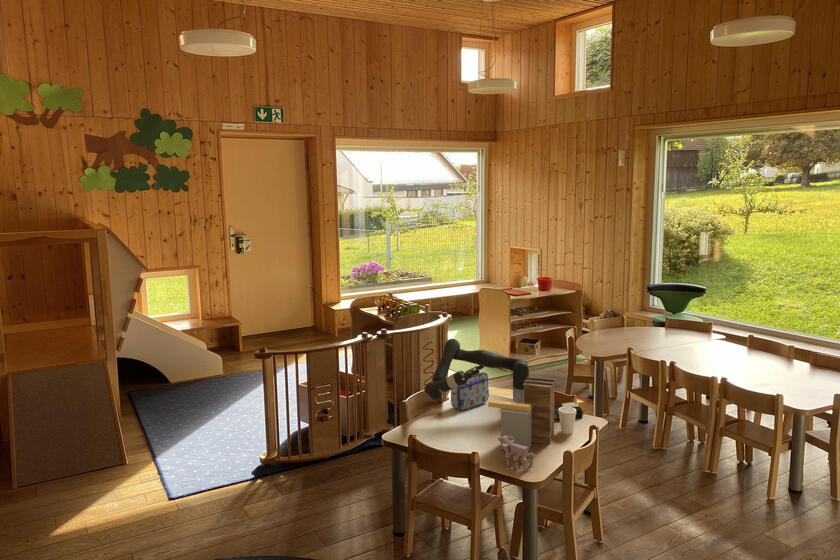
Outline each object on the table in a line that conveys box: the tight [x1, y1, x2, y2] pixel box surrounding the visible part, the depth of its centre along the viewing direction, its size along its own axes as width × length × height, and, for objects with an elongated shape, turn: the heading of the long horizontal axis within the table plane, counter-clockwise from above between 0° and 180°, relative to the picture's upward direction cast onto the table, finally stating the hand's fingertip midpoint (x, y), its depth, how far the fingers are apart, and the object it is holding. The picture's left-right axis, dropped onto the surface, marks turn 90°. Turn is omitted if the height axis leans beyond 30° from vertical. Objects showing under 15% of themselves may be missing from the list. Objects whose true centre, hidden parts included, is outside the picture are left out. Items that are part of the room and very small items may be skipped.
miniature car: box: [554, 402, 584, 422], centre depth 378 cm, size 9×18×8 cm, turn 103°
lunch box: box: [450, 371, 490, 412], centre depth 398 cm, size 28×10×22 cm, turn 130°
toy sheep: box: [496, 435, 535, 473], centre depth 320 cm, size 20×11×14 cm, turn 49°
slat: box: [487, 399, 531, 412], centre depth 338 cm, size 4×22×2 cm, turn 68°
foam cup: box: [558, 407, 576, 435], centre depth 357 cm, size 10×9×13 cm
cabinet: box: [523, 376, 556, 445], centre depth 348 cm, size 13×15×33 cm
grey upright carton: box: [499, 406, 533, 452], centre depth 339 cm, size 11×15×22 cm
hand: (481, 368), depth 349 cm, fingers open, 8 cm apart
